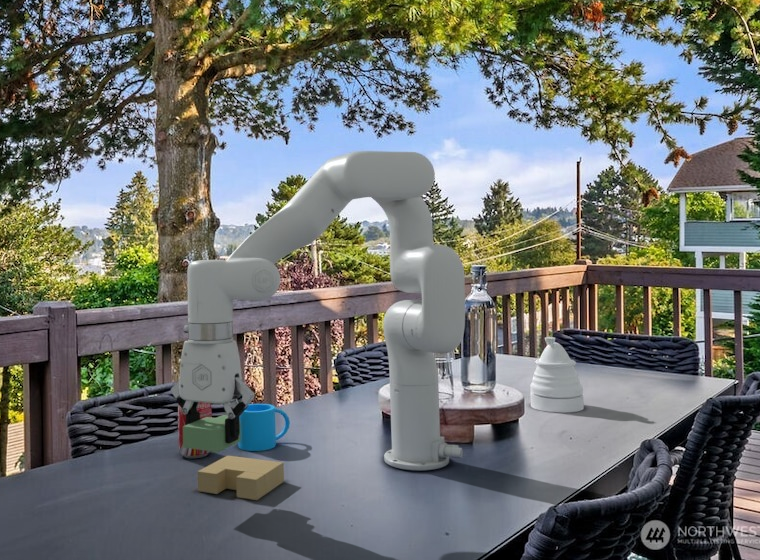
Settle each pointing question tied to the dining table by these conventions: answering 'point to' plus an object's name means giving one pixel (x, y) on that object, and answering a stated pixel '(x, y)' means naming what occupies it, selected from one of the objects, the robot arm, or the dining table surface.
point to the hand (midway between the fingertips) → (212, 438)
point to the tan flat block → (241, 476)
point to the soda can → (204, 412)
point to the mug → (260, 427)
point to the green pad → (207, 434)
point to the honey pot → (556, 381)
